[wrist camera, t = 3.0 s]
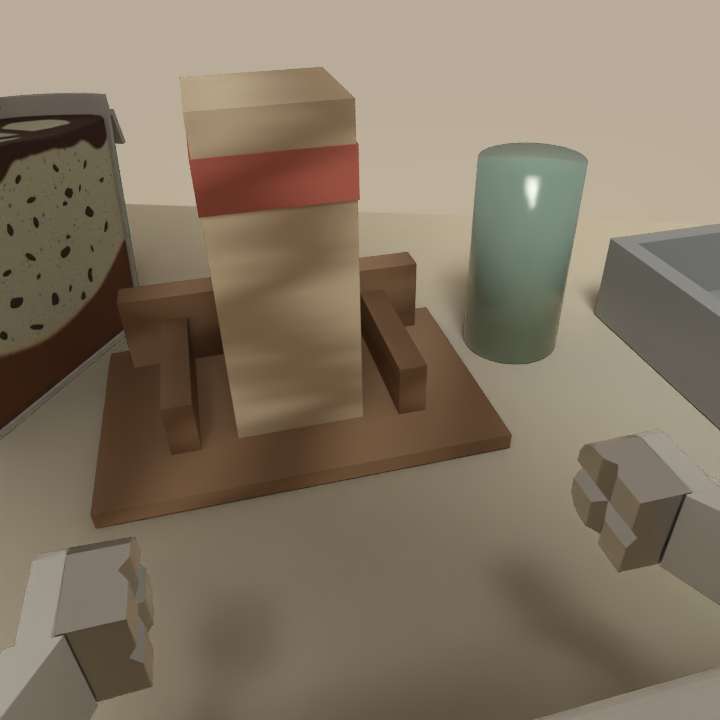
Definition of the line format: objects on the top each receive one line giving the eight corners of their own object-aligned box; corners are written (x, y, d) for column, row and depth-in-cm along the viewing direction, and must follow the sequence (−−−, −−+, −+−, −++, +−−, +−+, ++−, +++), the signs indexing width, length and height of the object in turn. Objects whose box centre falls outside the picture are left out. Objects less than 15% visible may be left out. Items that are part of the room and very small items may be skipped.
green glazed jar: (484, 370, 27) (504, 181, 22) (450, 322, 30) (462, 148, 25) (572, 355, 27) (609, 169, 23) (529, 309, 31) (555, 138, 26)
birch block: (237, 439, 23) (180, 112, 16) (227, 366, 26) (178, 77, 20) (364, 416, 23) (357, 98, 17) (337, 349, 27) (323, 66, 21)
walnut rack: (95, 528, 20) (62, 442, 18) (114, 365, 28) (92, 291, 25) (509, 447, 23) (522, 364, 21) (425, 318, 30) (428, 247, 28)
